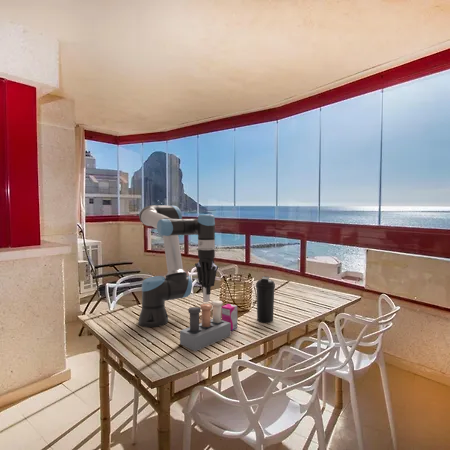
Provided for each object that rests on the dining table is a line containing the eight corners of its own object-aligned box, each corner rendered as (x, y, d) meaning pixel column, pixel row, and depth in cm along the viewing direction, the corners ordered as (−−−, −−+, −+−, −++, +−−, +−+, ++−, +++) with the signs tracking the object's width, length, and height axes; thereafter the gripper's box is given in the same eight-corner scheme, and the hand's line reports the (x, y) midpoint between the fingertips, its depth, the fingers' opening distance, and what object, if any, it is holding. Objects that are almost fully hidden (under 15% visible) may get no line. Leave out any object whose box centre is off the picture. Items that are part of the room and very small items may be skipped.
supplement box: (228, 325, 150) (228, 303, 150) (237, 328, 146) (237, 305, 146) (221, 328, 146) (221, 306, 145) (230, 331, 142) (230, 308, 141)
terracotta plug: (198, 325, 132) (198, 305, 132) (206, 322, 136) (206, 302, 136) (205, 328, 129) (206, 307, 128) (214, 325, 133) (214, 305, 132)
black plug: (185, 330, 127) (185, 309, 127) (195, 326, 131) (195, 306, 131) (193, 333, 124) (193, 311, 123) (202, 329, 127) (203, 308, 127)
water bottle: (275, 317, 161) (276, 276, 161) (273, 324, 152) (274, 280, 151) (257, 315, 164) (257, 275, 163) (254, 322, 154) (254, 279, 154)
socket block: (179, 344, 128) (179, 330, 128) (215, 329, 144) (215, 317, 144) (195, 351, 121) (195, 337, 121) (230, 335, 137) (230, 322, 137)
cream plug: (209, 321, 137) (209, 302, 137) (216, 318, 141) (217, 299, 141) (217, 324, 134) (217, 304, 134) (224, 321, 138) (224, 301, 137)
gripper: (190, 248, 133) (190, 300, 134) (210, 250, 124) (210, 306, 125) (202, 247, 138) (202, 296, 139) (222, 249, 130) (222, 302, 130)
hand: (206, 301), depth 132 cm, fingers closed
